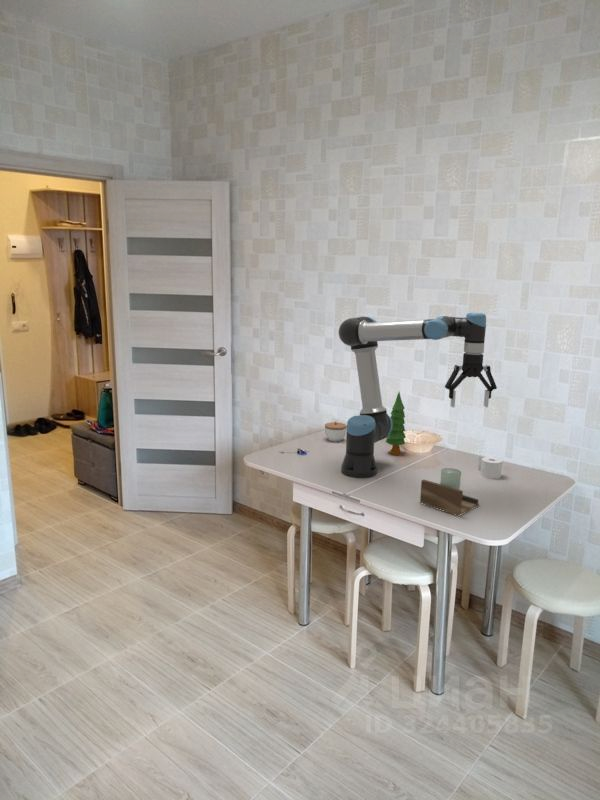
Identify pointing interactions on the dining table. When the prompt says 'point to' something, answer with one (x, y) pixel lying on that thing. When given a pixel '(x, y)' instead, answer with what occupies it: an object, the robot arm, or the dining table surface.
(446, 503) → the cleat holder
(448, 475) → the canister
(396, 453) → the decorative tree
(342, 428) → the lidded jar
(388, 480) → the dining table surface
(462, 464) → the dining table surface
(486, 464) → the toilet paper
